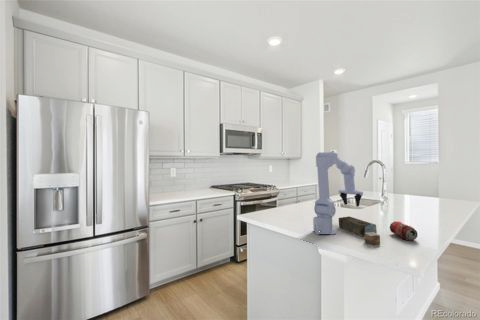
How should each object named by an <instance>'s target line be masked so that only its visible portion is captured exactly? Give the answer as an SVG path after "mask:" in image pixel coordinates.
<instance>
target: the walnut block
mask: <svg viewBox="0 0 480 320" xmlns="http://www.w3.org/2000/svg"><path fill="white" fill-rule="evenodd" d="M364 243H366V244H367V245H369V246H381V235H380V234H378V233H377V234H376V233H374V232H370V233H365V237H364Z"/></svg>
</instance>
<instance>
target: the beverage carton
mask: <svg viewBox="0 0 480 320" xmlns="http://www.w3.org/2000/svg"><path fill="white" fill-rule="evenodd" d="M338 228H339V229H341V228H342V229H341V230H344V231H346V232H350V233H352V234H354V233H355V235H357V236H360V237H364V238H365V233H370V232H374V233H376V234H378V233H377V232H378V231H377V224H374V223H372V222H368V221H364V220H362V219H359V218H356V217H352V216H349V215H348V216H343V217H339V218H338Z"/></svg>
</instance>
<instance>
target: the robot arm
mask: <svg viewBox="0 0 480 320" xmlns="http://www.w3.org/2000/svg"><path fill="white" fill-rule="evenodd" d="M334 165H335V166H336V168H337V169H338V170H339V171H340V173H341V175H343V183H344V184H343V185H344V189H339V190H338V194H339V196H340V198H341V200H342V201H343V204H344V205H345V206H346V205H348V195H354V196H353V197H354V199H355V206H356V208H357V207H360V203H361V199H362V196H363V195H364V192H363V191H362V190H361V191H359V190H356V186H355V184H356V183H355V173H356V169H355V166H354V165H353V164H349V163H348V162H347V161H345V159H340V158H339V157H338V153H337V152H336V151H327V152H326V151H325V152H319V151H318V152H317V154H316V156H315V167H317V182H318V198H317V199H316V201H314V208H313V210H314V213H315V214H316V216H314V217H313V219H312V220H313V222H312V223H313V224H312V225H313V227H312V228H313V230H314V231H315V232H316V234H317V233H318V234H330V235H336V234H337V233H336V232H334V231H333V217H334V216H335V214H336V211H337V210H336V209H337V208H336V206H335V202H334V201H333V200H332V199H331V197H330V184H329V183H330V181H329V171H328V170H329V169H330V168H331V167H333V166H334ZM314 231H313V232H314ZM319 231H320V232H319ZM315 232H314V233H315ZM318 234H317V235H318Z"/></svg>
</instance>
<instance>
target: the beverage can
mask: <svg viewBox="0 0 480 320" xmlns="http://www.w3.org/2000/svg"><path fill="white" fill-rule="evenodd" d="M389 231H390V232H391V233H393V234H394V235H395V236H398V237H400V238H402V239H404V240H406V241H414V240H417V237H418V231H417V230H416V228H414V227H412V226H411V225H408V224H405V223H403V222H401V221H393V222H391V223H390V225H389Z"/></svg>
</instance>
